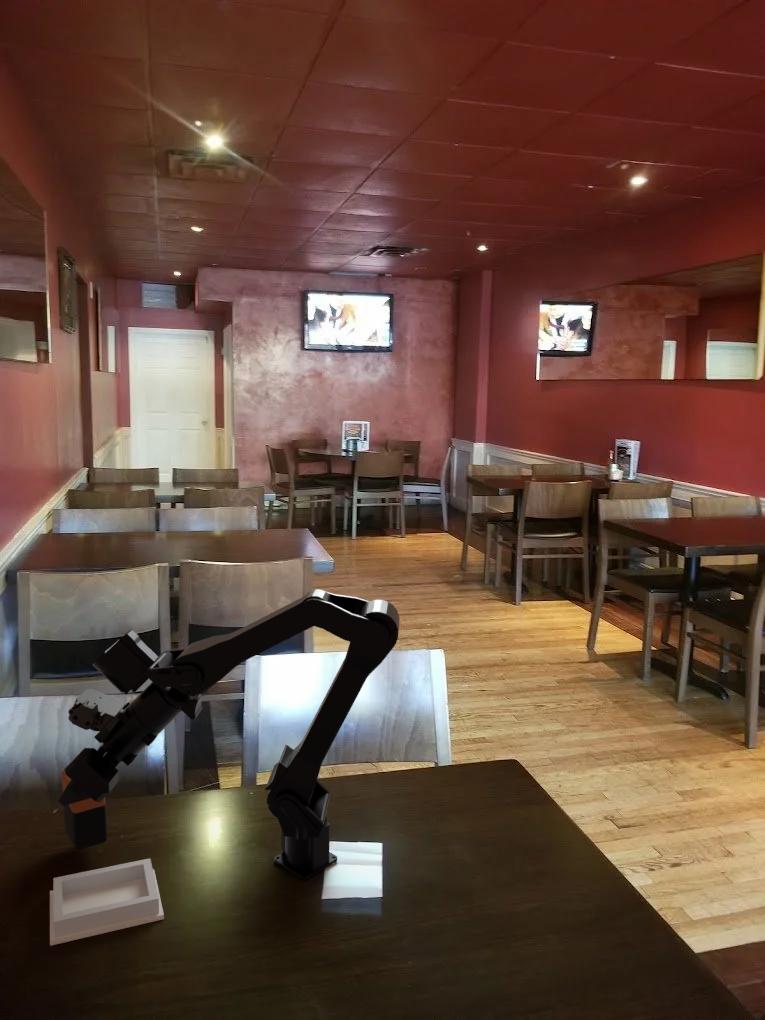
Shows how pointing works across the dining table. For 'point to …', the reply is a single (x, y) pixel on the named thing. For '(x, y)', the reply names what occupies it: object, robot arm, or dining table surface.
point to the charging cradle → (103, 901)
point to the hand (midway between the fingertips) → (73, 788)
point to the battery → (85, 820)
